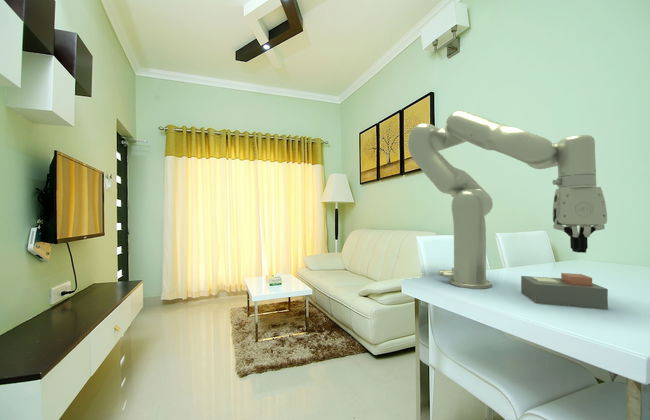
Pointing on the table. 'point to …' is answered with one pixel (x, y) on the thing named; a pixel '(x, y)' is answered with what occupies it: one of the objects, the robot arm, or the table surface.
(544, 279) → the cream key
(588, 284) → the red key
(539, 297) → the key panel
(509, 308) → the table surface
